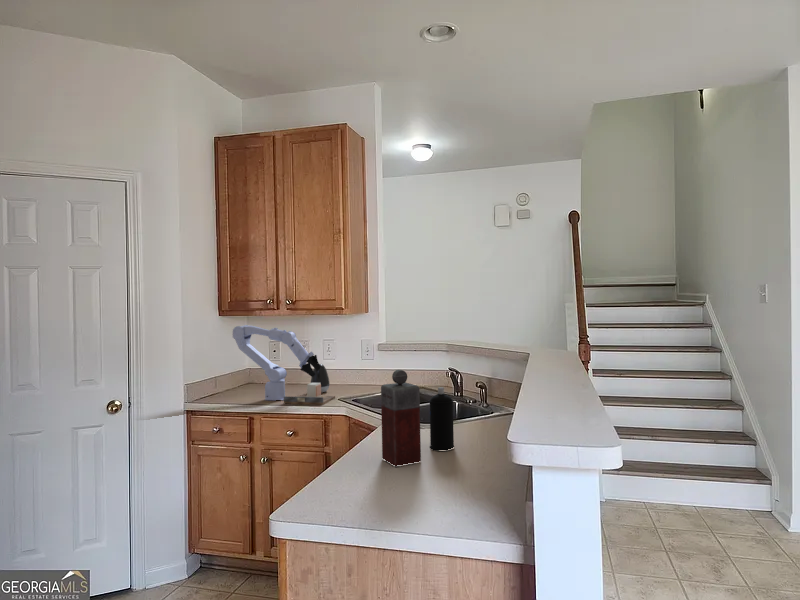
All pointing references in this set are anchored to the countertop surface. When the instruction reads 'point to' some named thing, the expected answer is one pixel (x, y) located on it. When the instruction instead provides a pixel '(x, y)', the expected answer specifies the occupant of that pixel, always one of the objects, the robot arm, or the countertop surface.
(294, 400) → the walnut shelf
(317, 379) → the black rounded upright piece
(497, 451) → the countertop surface
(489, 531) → the countertop surface
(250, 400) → the countertop surface
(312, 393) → the cream box
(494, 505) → the countertop surface
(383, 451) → the pepper mill
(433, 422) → the aerosol can
